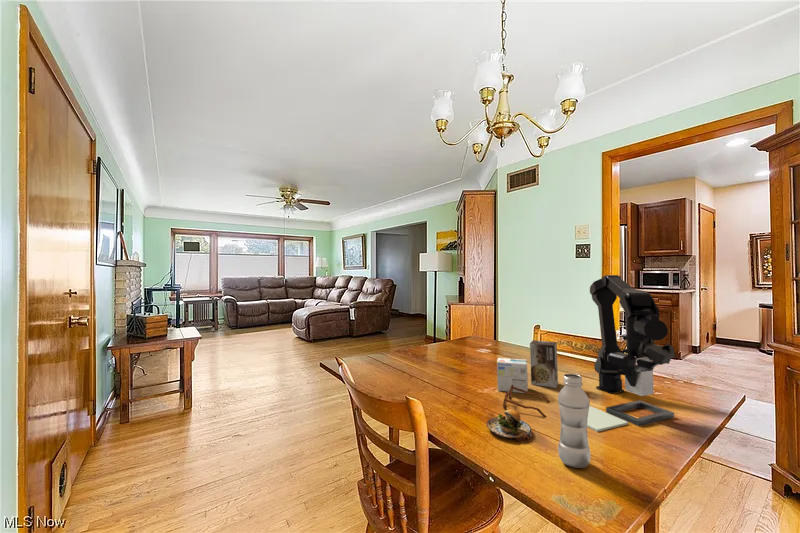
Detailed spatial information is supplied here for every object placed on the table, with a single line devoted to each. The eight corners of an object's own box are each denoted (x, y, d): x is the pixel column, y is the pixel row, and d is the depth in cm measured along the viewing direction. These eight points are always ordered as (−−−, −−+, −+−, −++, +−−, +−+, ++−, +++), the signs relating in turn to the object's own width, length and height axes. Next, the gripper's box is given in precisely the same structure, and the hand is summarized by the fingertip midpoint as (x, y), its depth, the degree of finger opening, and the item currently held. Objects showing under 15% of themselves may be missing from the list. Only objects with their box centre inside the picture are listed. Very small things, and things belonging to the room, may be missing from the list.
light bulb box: (527, 387, 124) (526, 359, 124) (528, 394, 118) (527, 363, 118) (498, 384, 128) (497, 357, 128) (497, 391, 121) (496, 361, 121)
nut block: (625, 390, 101) (624, 367, 101) (636, 388, 103) (635, 365, 103) (641, 396, 96) (641, 372, 97) (653, 393, 98) (652, 370, 98)
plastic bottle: (552, 456, 78) (550, 372, 78) (579, 455, 79) (577, 371, 79) (568, 473, 72) (566, 381, 72) (598, 471, 72) (595, 380, 73)
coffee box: (558, 383, 128) (557, 341, 128) (556, 388, 123) (555, 345, 123) (533, 379, 133) (532, 339, 133) (530, 384, 128) (529, 342, 128)
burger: (482, 422, 97) (482, 397, 97) (522, 422, 97) (522, 396, 97) (492, 443, 85) (492, 414, 85) (538, 443, 85) (538, 414, 85)
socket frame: (606, 412, 102) (605, 407, 102) (639, 404, 107) (639, 400, 107) (639, 426, 93) (638, 421, 93) (674, 417, 98) (674, 412, 98)
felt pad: (561, 414, 101) (561, 412, 101) (591, 408, 105) (591, 406, 105) (597, 431, 90) (597, 429, 90) (628, 424, 94) (628, 422, 94)
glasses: (510, 396, 117) (510, 382, 117) (550, 403, 110) (550, 388, 110) (502, 410, 106) (501, 394, 106) (546, 418, 99) (546, 402, 99)
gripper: (643, 341, 89) (645, 399, 89) (688, 335, 96) (689, 389, 95) (605, 334, 100) (606, 386, 99) (648, 329, 106) (649, 378, 106)
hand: (638, 385), depth 100 cm, fingers closed on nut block, 5 cm apart
